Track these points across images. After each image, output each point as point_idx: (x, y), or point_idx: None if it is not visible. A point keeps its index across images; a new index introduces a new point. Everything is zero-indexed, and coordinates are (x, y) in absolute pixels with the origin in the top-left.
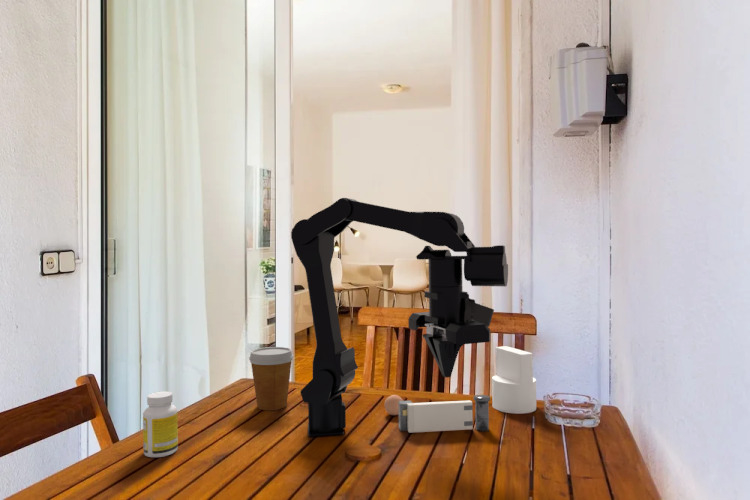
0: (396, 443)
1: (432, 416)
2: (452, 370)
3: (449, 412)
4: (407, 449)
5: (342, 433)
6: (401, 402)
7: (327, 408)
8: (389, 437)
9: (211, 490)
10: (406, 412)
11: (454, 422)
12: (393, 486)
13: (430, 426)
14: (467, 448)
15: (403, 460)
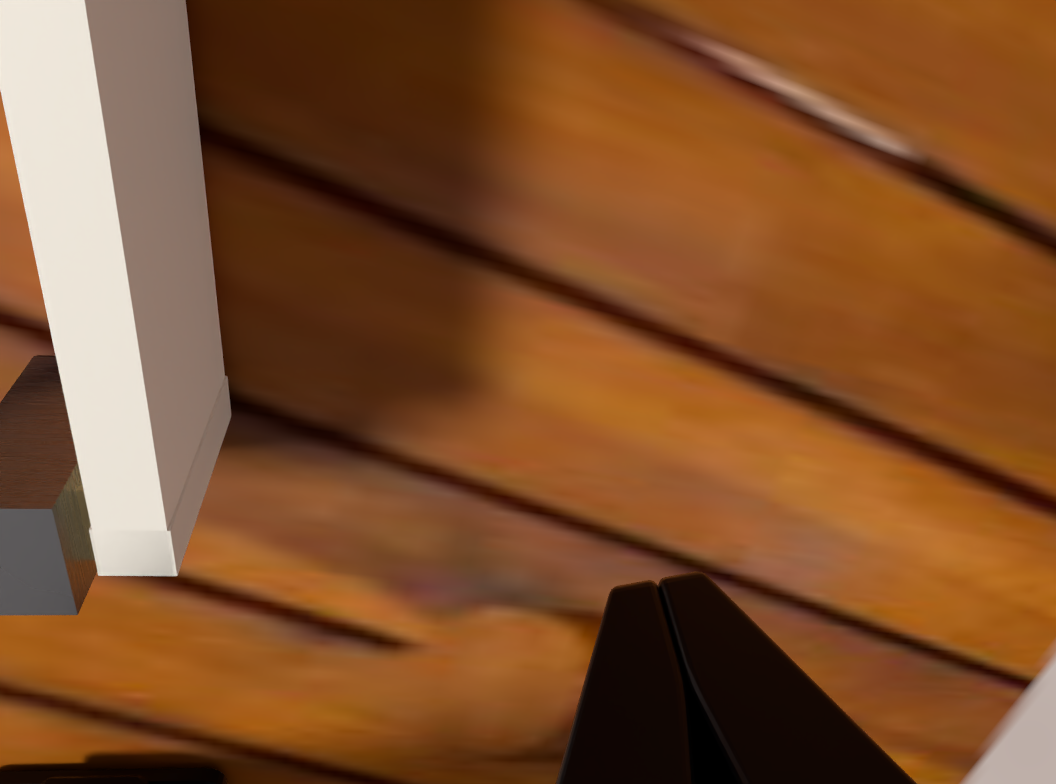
0: (412, 512)
1: (172, 281)
2: (771, 640)
3: (140, 99)
4: (540, 466)
5: (222, 778)
6: (13, 597)
7: None
8: (285, 537)
9: None
10: None
11: (166, 7)
12: (1014, 606)
13: (202, 259)
14: (645, 10)
15: (714, 516)
